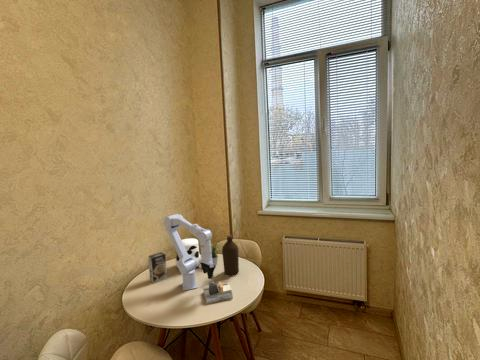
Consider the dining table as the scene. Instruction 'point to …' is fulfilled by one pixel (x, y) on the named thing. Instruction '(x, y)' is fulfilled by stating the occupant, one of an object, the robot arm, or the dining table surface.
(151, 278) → the coffee box
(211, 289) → the plug
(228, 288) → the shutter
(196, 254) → the milk container
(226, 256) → the olive oil
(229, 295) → the socket
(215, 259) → the house plant
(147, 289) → the dining table surface
